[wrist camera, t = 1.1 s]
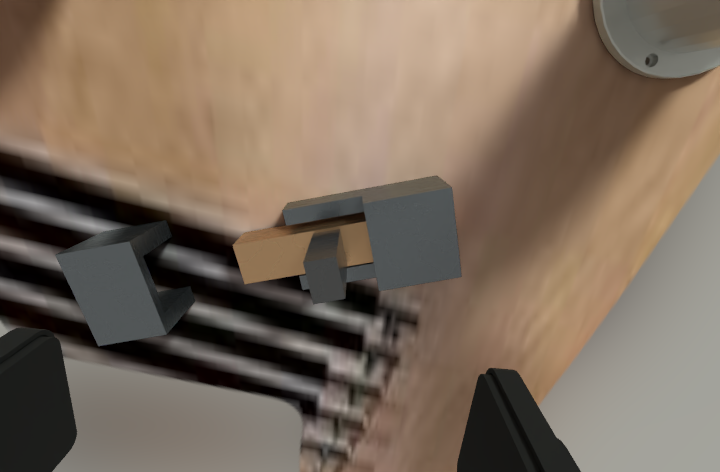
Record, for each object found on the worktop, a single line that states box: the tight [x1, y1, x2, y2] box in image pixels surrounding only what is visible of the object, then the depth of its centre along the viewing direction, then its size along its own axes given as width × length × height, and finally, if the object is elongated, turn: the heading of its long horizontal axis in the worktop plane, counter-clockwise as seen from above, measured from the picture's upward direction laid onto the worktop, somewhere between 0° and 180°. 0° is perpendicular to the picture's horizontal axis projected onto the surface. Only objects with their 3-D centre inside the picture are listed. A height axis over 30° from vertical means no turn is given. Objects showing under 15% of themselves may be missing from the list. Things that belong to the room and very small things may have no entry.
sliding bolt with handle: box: [233, 212, 374, 304], centre depth 27 cm, size 16×3×8 cm, turn 100°
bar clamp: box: [55, 176, 462, 346], centre depth 29 cm, size 27×7×5 cm, turn 100°
